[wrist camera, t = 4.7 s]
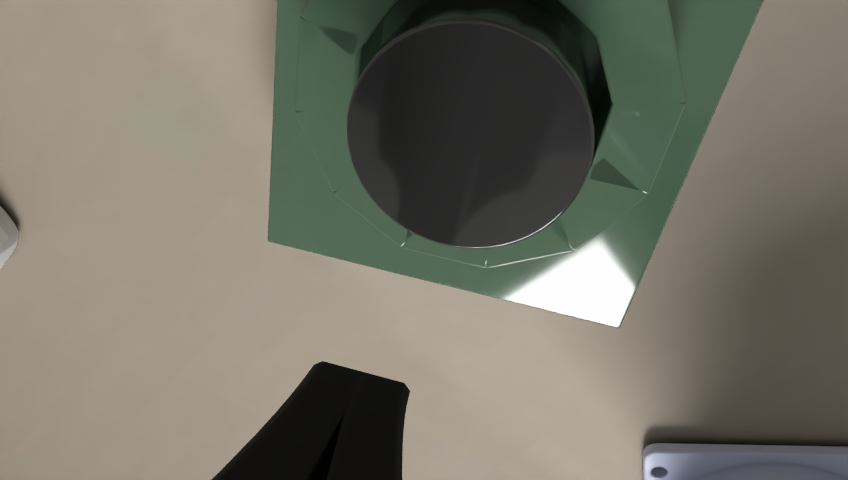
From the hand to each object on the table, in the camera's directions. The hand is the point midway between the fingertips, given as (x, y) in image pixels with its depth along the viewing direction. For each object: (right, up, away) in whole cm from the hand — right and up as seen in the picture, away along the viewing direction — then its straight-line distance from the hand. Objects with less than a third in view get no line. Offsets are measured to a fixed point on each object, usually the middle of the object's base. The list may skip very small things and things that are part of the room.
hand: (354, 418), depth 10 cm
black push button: (+2, +5, +2) cm, 6 cm away
